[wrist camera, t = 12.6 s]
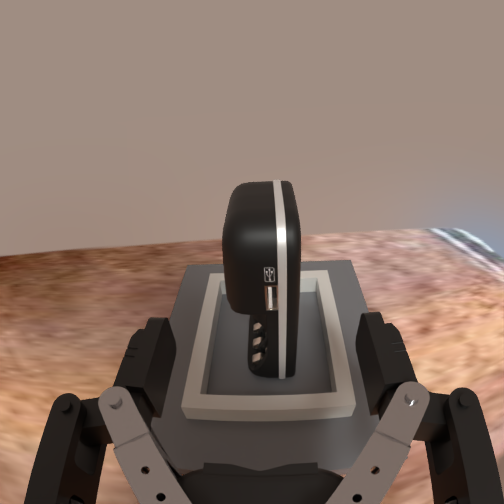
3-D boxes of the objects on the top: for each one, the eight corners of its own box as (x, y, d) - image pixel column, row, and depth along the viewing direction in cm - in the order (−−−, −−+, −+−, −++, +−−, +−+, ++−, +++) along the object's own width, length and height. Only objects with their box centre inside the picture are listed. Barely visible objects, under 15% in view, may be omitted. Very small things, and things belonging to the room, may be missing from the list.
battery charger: (242, 311, 25) (227, 173, 19) (290, 310, 25) (290, 170, 19) (236, 384, 20) (211, 228, 13) (295, 383, 19) (303, 224, 13)
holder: (137, 466, 15) (120, 451, 14) (189, 274, 32) (185, 252, 31) (401, 464, 14) (416, 448, 13) (349, 269, 31) (352, 247, 30)
